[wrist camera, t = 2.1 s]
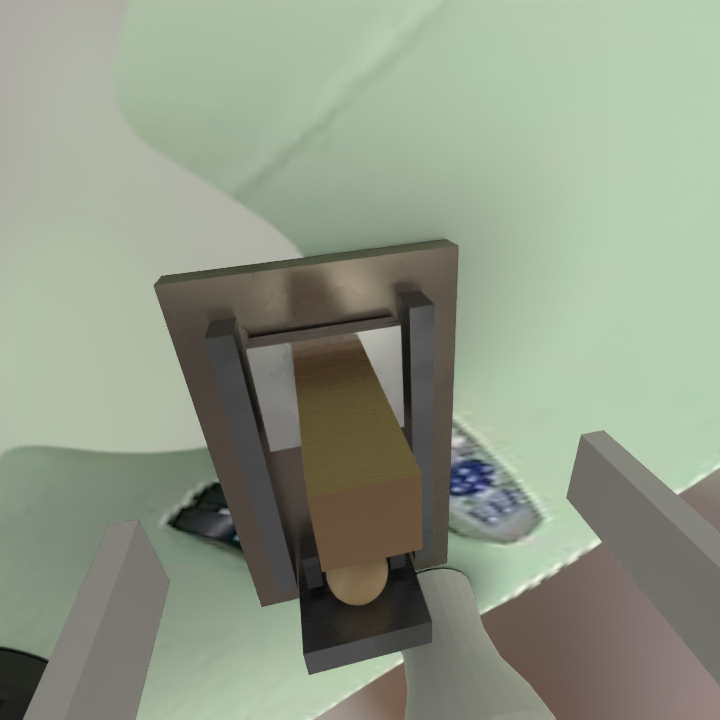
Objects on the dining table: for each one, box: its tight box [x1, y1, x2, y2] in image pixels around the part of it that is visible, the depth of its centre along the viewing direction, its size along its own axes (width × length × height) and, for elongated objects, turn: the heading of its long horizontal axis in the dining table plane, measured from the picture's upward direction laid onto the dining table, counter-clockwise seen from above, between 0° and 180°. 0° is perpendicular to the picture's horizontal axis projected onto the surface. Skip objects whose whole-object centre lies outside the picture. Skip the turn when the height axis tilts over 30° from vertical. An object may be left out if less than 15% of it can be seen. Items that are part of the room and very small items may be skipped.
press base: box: [154, 239, 458, 675], centre depth 23 cm, size 14×24×6 cm, turn 4°
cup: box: [401, 569, 556, 720], centre depth 29 cm, size 11×11×15 cm
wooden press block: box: [246, 316, 423, 572], centre depth 17 cm, size 7×8×10 cm
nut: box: [326, 558, 388, 605], centre depth 26 cm, size 4×4×4 cm
